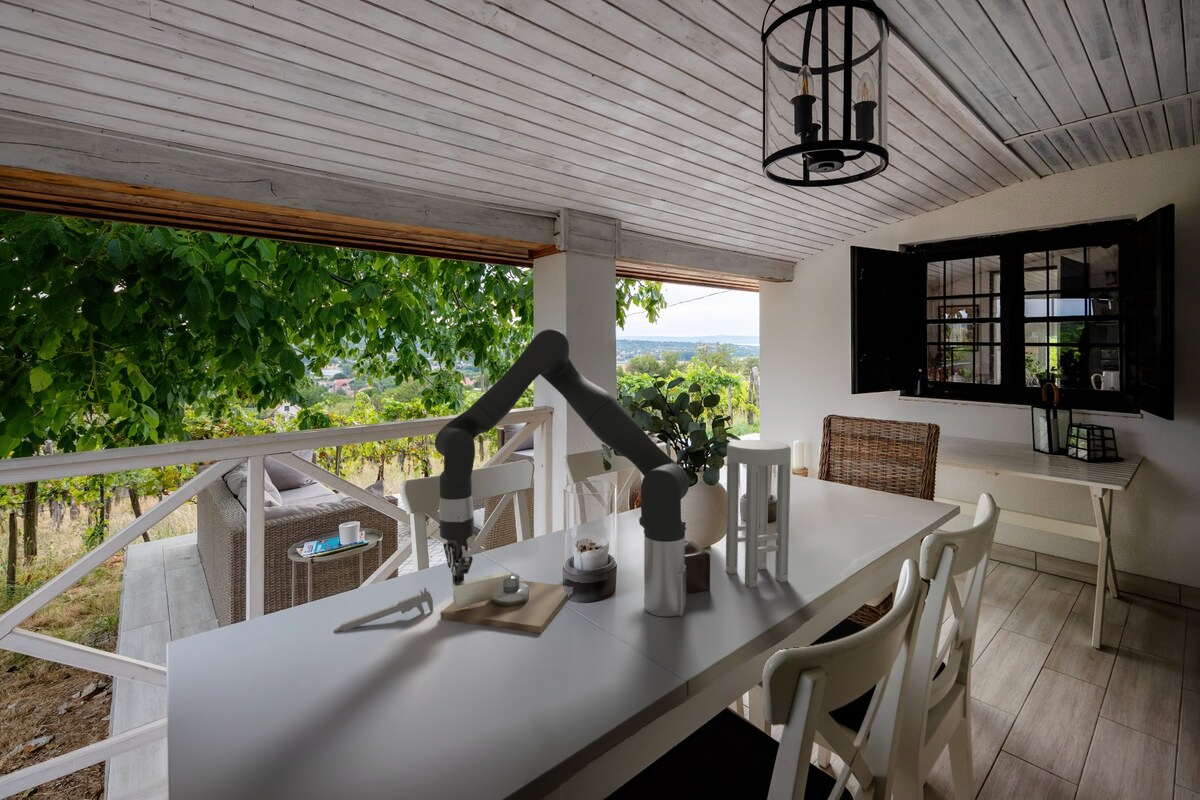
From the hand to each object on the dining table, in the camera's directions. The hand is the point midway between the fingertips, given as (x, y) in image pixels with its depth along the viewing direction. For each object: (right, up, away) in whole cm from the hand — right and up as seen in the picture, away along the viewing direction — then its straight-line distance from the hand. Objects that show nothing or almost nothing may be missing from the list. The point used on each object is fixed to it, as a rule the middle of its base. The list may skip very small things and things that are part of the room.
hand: (458, 589), depth 130 cm
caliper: (-15, -6, -4) cm, 17 cm away
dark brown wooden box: (+51, -4, +14) cm, 53 cm away
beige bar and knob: (+8, -3, +1) cm, 8 cm away
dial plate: (+11, -5, +3) cm, 13 cm away
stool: (+73, -3, +20) cm, 76 cm away
